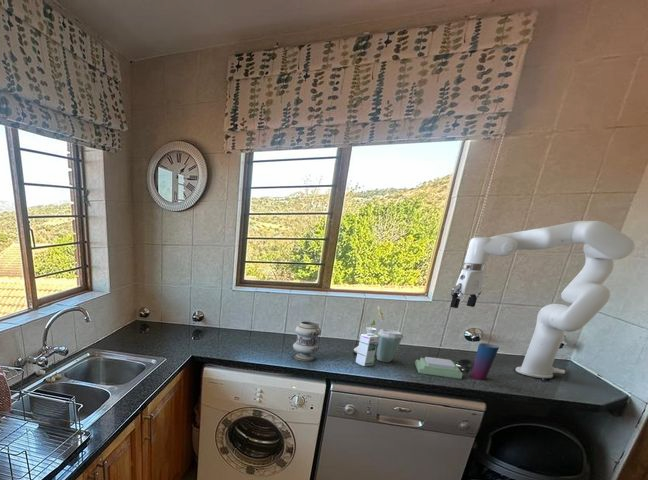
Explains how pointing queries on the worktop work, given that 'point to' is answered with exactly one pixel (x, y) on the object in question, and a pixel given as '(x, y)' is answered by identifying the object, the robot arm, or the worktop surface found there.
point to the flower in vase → (370, 329)
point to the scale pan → (439, 362)
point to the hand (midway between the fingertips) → (462, 306)
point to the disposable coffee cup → (388, 344)
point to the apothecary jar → (306, 340)
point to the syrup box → (367, 349)
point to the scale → (437, 370)
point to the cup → (484, 360)
